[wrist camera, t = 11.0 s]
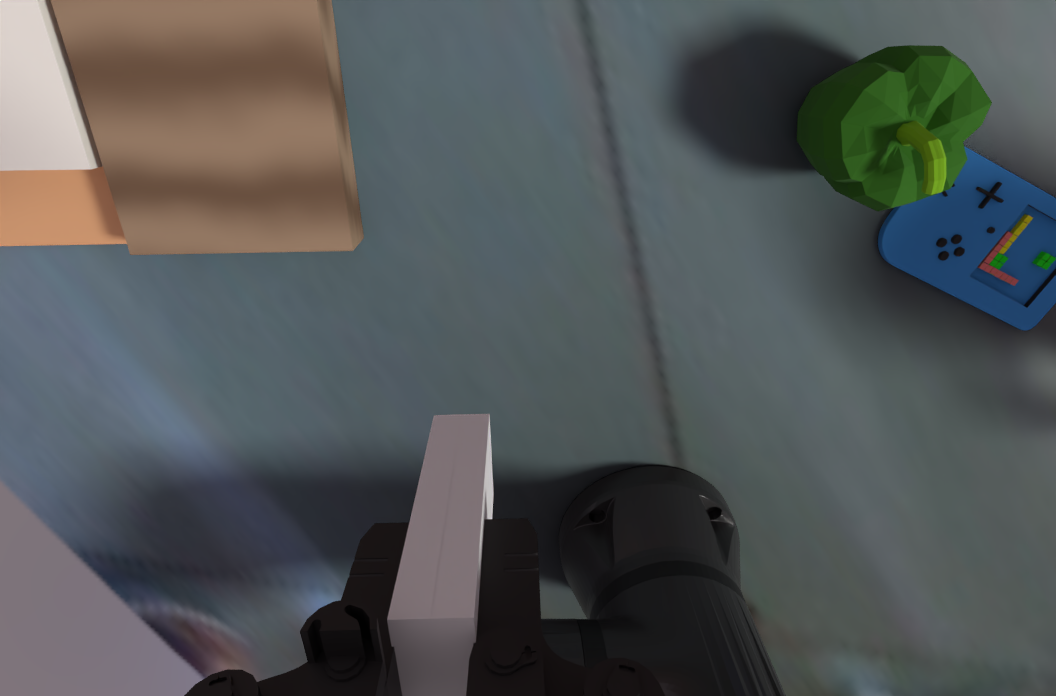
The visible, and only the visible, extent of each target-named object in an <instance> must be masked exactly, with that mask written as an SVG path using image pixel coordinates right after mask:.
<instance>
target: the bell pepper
mask: <svg viewBox="0 0 1056 696" xmlns="http://www.w3.org/2000/svg"><path fill="white" fill-rule="evenodd" d="M991 103H992V102H991V100H990V99H989V97H988V96H987V94H986V93H985V91H984V89H983V88H982V86H981V85H980V83H979V82H978V80H977V78H976V77H975V75H974V74H973V72H972V71H971V69H970V68H969V67H968V65H967V64H966V63H965V62H964V61H962V60H961V59H959V58H958V57H957V56H955V55H954V54H953V53H951V52H950V51H948V50H947V49H946V48H944V47H943V46H894V47H887V48H884V49H882V50H880V51H878V52H875V53H873V54H871V55H869V56H867V57H865V58H863V59H861V60H860V61H858V62H856V63H855V64H853V65H851V66H848V67H846V68H844V69H842V70H840V71H838V72H837V73H835V74H833V75H832V76H830V77H828V78H827V79H825V80H824V81H822V82H820V83H819V84H817V85H815V86H814V87H812V88H811V90H810V91H809V93H808V95H807V97H806V99H805V101H804V103H803V105H802V106H801V108H800V110H799V112H798V122H797V142H798V143H799V145H800V147H801V148H802V150H803V152H804V153H805V155H806V157H807V158H808V160H809V161H810V163H811V165H812V166H813V167H814V168H815V169H816V170H817V172H818V173H819V174H820V175H822V176H824V178H825V179H826V180H827V181H828V183H829V184H830V185H831V186H832V187H833V188H834V189H835V191H837V192H839V193H841V194H843V195H845V196H847V197H849V198H851V199H853V200H855V201H857V202H859V203H861V204H863V205H865V206H867V207H869V208H872V209H874V210H876V211H881V210H886V209H890V208H894V207H898V206H903V205H906V204H909V203H912V202H915V201H918V200H921V199H924V198H927V197H929V196H932V195H935V194H938V193H941V192H943V191H946V190H949V189H950V188H951V187H952V185H953V183H954V182H955V180H956V178H957V176H958V175H959V173H960V171H961V170H962V168H963V166H964V165H965V163H966V161H967V160H968V159H967V155H966V151H965V148H964V144H963V142H964V141H965V140H966V139H967V138H968V137H969V136H970V135H971V134H972V133H973V132H974V131H975V130H977V129H978V128H979V127H980V126H981V125H982V123H983V121H984V119H985V117H986V114H987V112H988V110H989V108H990V106H991Z"/></svg>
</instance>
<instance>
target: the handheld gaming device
mask: <svg viewBox="0 0 1056 696" xmlns="http://www.w3.org/2000/svg"><path fill="white" fill-rule="evenodd" d="M964 148H965V151H966V155H967V159H968V160H967V161H966V163H965V165H964V166H963V168H962V170H961V171H960V173H959V175H958V176H957V178H956V180H955V182H954V183H953V185H952V187H951V188H950V189H949V190H946V191H943V192H941V193H938V194H935V195H932V196H929V197H927V198H924V199H921V200H918V201H915V202H912V203H909V204H906V205H903V206H898V207H894V208H893V210H892V211H891V212H890V214H889V215H888V217H887V218H886V220H885V221H884V223H883V225H882V227H881V229H880V232H879V236H878V248H879V251H880V254H881V256H882V257H883V259H884V260H885V261H886V262H888V263H889V264H891V265H893V266H894V267H896V268H898V269H900V270H902V271H904V272H906V273H908V274H910V275H912V276H914V277H916V278H918V279H920V280H922V281H924V282H926V283H928V284H930V285H932V286H934V287H936V288H938V289H940V290H942V291H944V292H946V293H948V294H950V295H952V296H954V297H956V298H958V299H960V300H962V301H964V302H966V303H968V304H970V305H972V306H974V307H976V308H978V309H980V310H982V311H984V312H986V313H988V314H990V315H992V316H994V317H996V318H998V319H1000V320H1002V321H1004V322H1006V323H1008V324H1010V325H1012V326H1014V327H1016V328H1018V329H1020V330H1030V329H1032V328H1033V327H1034V326H1036V325H1037V323H1038V322H1039V321H1040V320H1041V319H1042V318H1043V317H1044V316H1045V314H1046V313H1047V312H1048V311H1049V310H1050V309H1051V308H1052V307H1053V305H1054V304H1055V303H1056V198H1055V197H1053V196H1051V195H1050V194H1048V193H1046V192H1044V191H1042V190H1041V189H1039V188H1037V187H1035V186H1034V185H1032V184H1030V183H1028V182H1027V181H1025V180H1023V179H1021V178H1020V177H1018V176H1016V175H1014V174H1013V173H1011V172H1009V171H1007V170H1005V169H1004V168H1002V167H1000V166H998V165H997V164H995V163H993V162H991V161H990V160H988V159H986V158H984V157H983V156H981V155H979V154H977V153H976V152H974V151H972V150H970V149H968V148H967V147H965V146H964Z"/></svg>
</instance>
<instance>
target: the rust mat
mask: <svg viewBox="0 0 1056 696" xmlns="http://www.w3.org/2000/svg"><path fill="white" fill-rule="evenodd" d="M86 244H127V242H126V239H125V236H124V232H123V229H122V226H121V223H120V220H119V216H118V213H117V210H116V207H115V204H114V201H113V197H112V194H111V191H110V188H109V185H108V181H107V178H106V175H105V172H104V169H103V166H102V167H98V168H95V169H86V170H14V171H0V246H31V245H86Z"/></svg>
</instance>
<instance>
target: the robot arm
mask: <svg viewBox="0 0 1056 696" xmlns="http://www.w3.org/2000/svg"><path fill="white" fill-rule="evenodd" d="M493 495H494V493H493V474H492V454H491V435H490V416H489V414H466V415H434V418H433V422H432V426H431V431H430V435H429V440H428V444H427V448H426V453H425V457H424V461H423V466H422V470H421V474H420V479H419V483H418V487H417V492H416V496H415V500H414V505H413V509H412V513H411V518H410V522H409V523H375V524H374V525H373V526H372V527H371V528H370V530H369V531H368V532H367V533H366V534H365V535H364V536H363V538H362V539H361V540H360V543H359V546H358V549H357V552H356V555H355V561H354V562H353V565H352V568H351V571H350V577H349V578H348V580H347V583H346V586H345V590H344V593H343V596H342V599H341V601H335V602H332V603H330V604H328V605H326V606H324V607H322V608H320V609H318V610H317V611H316V612H315V613H314V614H313V615H311V616H310V617H309V618H308V619H307V621H306V622H305V624H304V626H303V627H302V629H301V631H300V634H301V637H302V641H303V645H304V649H305V653H306V656H307V660H308V662H306V663H305V664H303V665H302V666H300V667H299V668H296V669H294V670H291V671H289V672H287V673H284V674H281V675H277V676H274V677H271V678H268V679H265V680H262V681H259V682H256V680H255V678H254V677H253V675H251V674H249V673H247V672H245V671H243V670H224V671H221V672H218V673H215V674H212V675H210V676H208V677H207V678H205V679H203V680H202V681H200V682H199V683H197V684H195V685H194V686H193V688H191V690H189V692H187V694H186V695H185V696H786V695H785V693H784V691H783V688H782V686H781V684H780V681H779V679H778V677H777V674H776V672H775V670H774V667H773V665H772V663H771V660H770V658H769V656H768V653H767V651H766V649H765V646H764V644H763V642H762V639H761V637H760V635H759V632H758V630H757V628H756V625H755V623H754V621H753V618H752V616H751V614H750V611H749V609H748V607H747V605H746V602H745V600H744V598H743V595H742V593H741V590H740V542H739V534H738V529H737V526H736V523H735V520H734V518H733V516H732V514H731V512H730V509H729V507H728V505H727V503H726V501H725V500H724V498H723V496H722V495H721V494H720V493H719V491H718V490H717V489H716V488H715V487H714V486H712V485H711V484H710V483H709V482H707V481H706V480H704V479H703V478H701V477H699V476H697V475H695V474H693V473H690V472H687V471H684V470H681V469H677V468H671V467H663V466H645V467H637V468H631V469H627V470H623V471H620V472H617V473H614V474H611V475H609V476H607V477H604V478H602V479H601V480H599V481H597V482H595V483H594V484H592V485H591V486H589V487H588V488H587V489H585V490H584V491H583V492H582V493H581V494H580V495H579V496H578V497H577V498H576V499H575V500H574V501H573V502H572V504H571V505H570V507H569V508H568V510H567V511H566V513H565V515H564V517H563V520H562V523H561V526H560V531H559V548H560V559H561V565H562V569H563V572H564V575H565V577H566V580H567V582H568V584H569V585H570V587H571V589H572V591H573V593H574V595H575V597H576V599H577V600H578V602H579V604H580V606H581V608H582V610H583V612H584V613H585V615H586V617H587V619H541V611H540V587H539V564H538V541H537V533H536V531H535V530H534V528H533V526H532V525H531V523H530V522H529V520H528V518H521V519H492V514H493Z"/></svg>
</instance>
